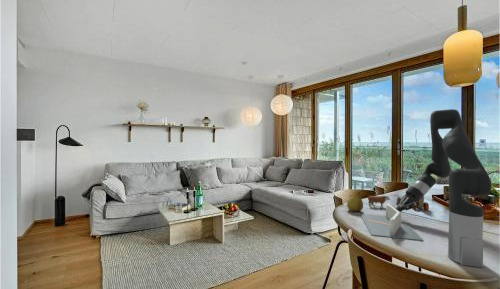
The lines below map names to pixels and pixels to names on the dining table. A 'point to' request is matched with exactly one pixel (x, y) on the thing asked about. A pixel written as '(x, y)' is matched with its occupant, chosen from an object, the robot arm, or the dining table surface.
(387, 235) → the card
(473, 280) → the dining table surface
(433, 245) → the dining table surface
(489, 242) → the dining table surface
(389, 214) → the fence gate
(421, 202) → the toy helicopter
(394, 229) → the fence fixed
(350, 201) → the fruit
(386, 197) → the bull figurine
